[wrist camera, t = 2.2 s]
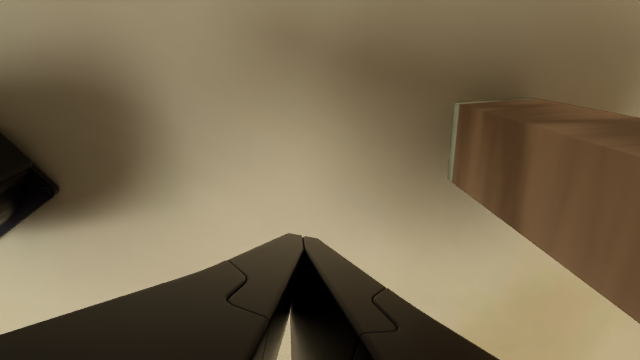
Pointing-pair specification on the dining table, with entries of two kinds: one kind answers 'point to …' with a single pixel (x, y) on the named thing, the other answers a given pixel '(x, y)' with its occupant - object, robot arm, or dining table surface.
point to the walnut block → (558, 184)
